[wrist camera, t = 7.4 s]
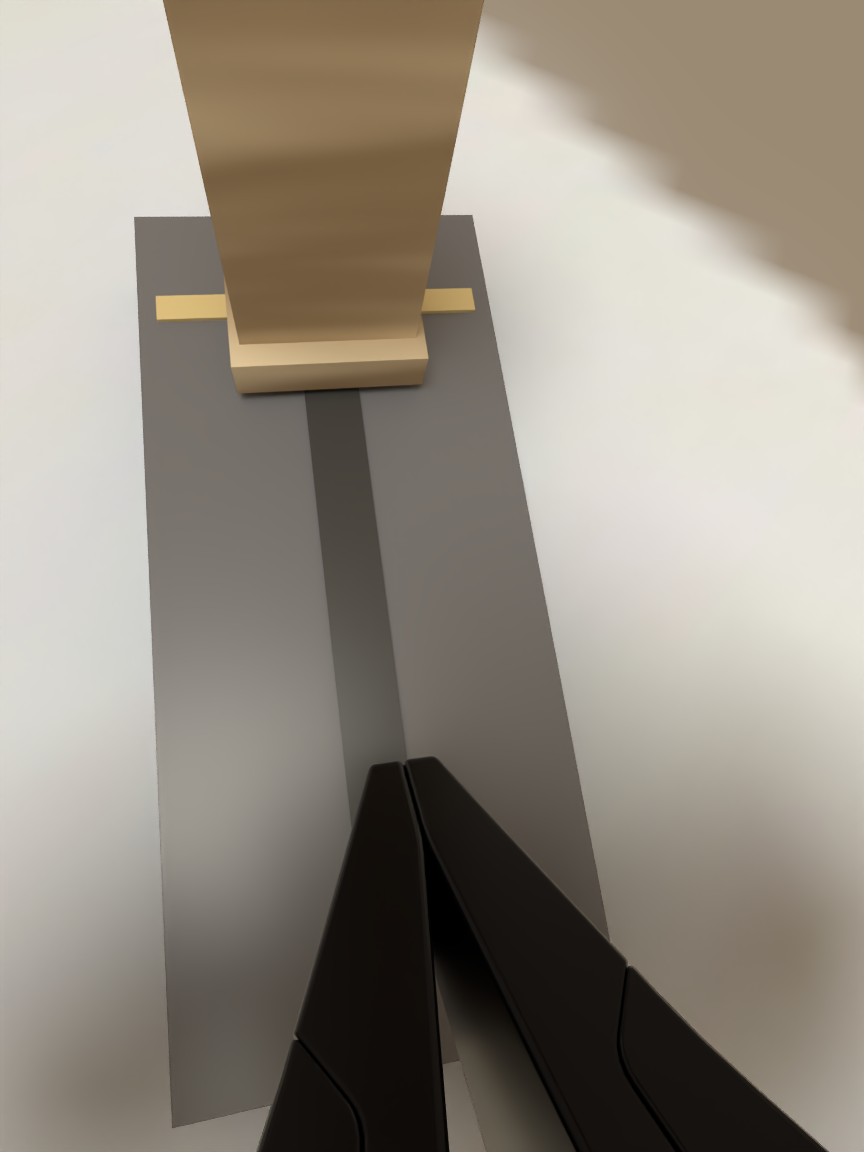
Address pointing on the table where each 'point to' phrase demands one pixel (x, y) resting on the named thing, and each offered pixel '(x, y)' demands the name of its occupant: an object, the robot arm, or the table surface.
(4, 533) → the table surface
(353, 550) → the fader console
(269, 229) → the fader lever
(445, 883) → the robot arm
